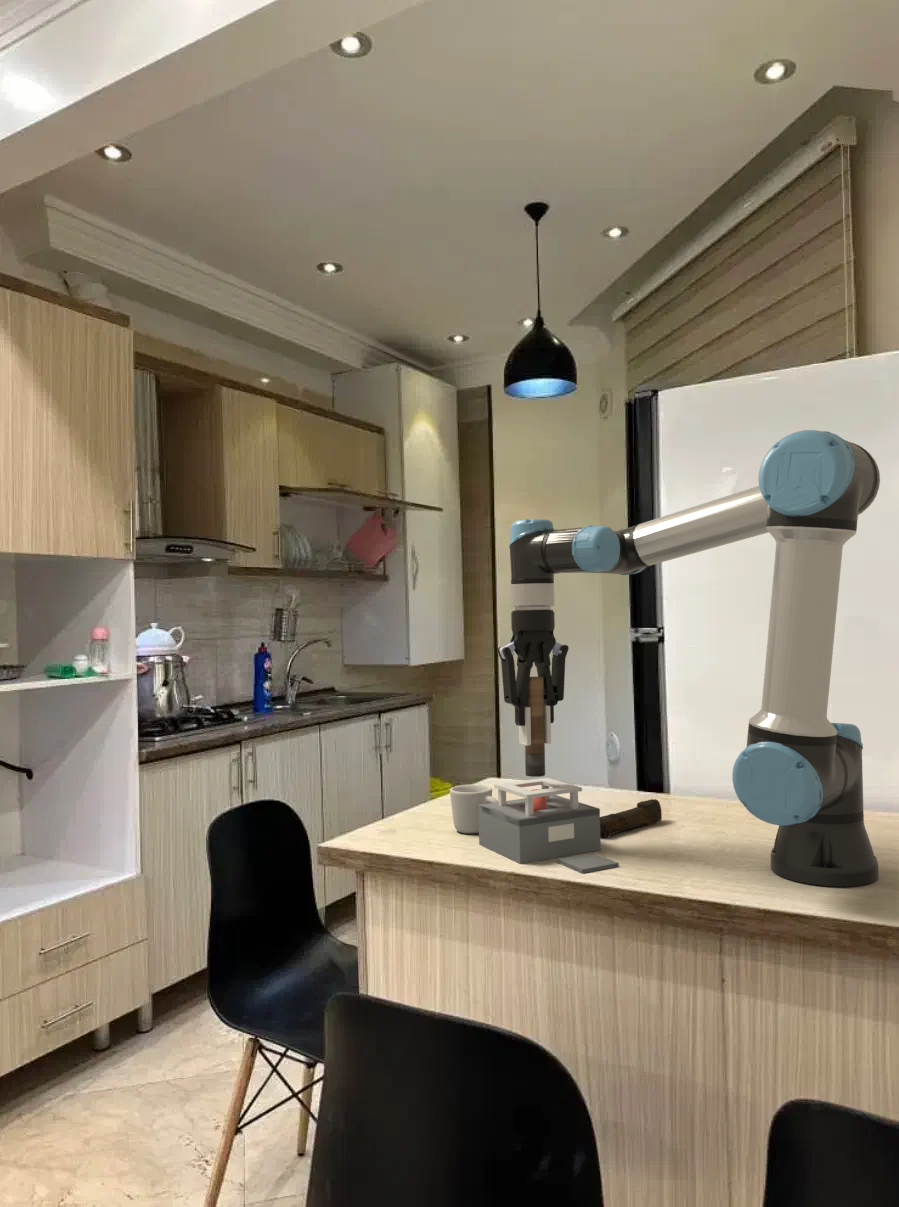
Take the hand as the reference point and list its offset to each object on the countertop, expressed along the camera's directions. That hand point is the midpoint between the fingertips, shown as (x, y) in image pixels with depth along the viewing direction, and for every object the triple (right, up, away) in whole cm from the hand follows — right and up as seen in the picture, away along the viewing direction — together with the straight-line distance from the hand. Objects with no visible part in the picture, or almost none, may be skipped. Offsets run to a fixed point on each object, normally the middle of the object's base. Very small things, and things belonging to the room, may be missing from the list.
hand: (535, 743), depth 152 cm
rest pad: (+7, -18, -12) cm, 22 cm away
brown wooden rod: (0, -5, 0) cm, 5 cm away
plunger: (+1, -15, 0) cm, 15 cm away
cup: (-10, -19, +11) cm, 24 cm away
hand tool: (+18, -18, +11) cm, 28 cm away
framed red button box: (+1, -18, 0) cm, 18 cm away
